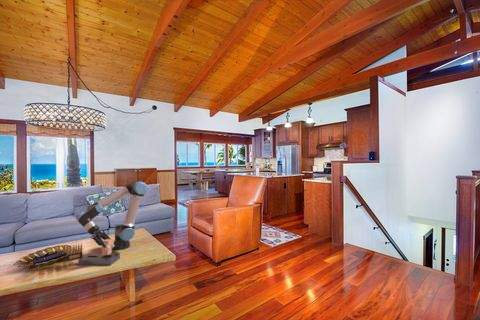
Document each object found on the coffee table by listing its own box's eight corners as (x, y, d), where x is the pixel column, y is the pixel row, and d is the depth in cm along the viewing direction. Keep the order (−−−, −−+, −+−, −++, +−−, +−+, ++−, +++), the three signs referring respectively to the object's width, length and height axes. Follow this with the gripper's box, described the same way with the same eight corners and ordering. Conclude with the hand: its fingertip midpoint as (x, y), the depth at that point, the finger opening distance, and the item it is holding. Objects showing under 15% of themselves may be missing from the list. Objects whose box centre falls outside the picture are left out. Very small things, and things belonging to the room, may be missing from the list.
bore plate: (89, 258, 187) (89, 253, 187) (119, 258, 186) (119, 253, 186) (78, 265, 174) (78, 259, 174) (110, 265, 173) (110, 260, 173)
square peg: (105, 252, 182) (106, 239, 183) (111, 252, 182) (111, 239, 183) (101, 255, 177) (102, 241, 178) (107, 255, 177) (108, 241, 178)
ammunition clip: (82, 257, 189) (82, 243, 189) (82, 257, 187) (82, 243, 187) (66, 260, 182) (66, 246, 182) (66, 261, 180) (66, 246, 181)
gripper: (96, 228, 190) (114, 247, 189) (80, 234, 172) (100, 256, 171) (102, 221, 190) (120, 241, 189) (87, 227, 172) (107, 249, 171)
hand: (111, 248), depth 180 cm, fingers closed on square peg, 5 cm apart
